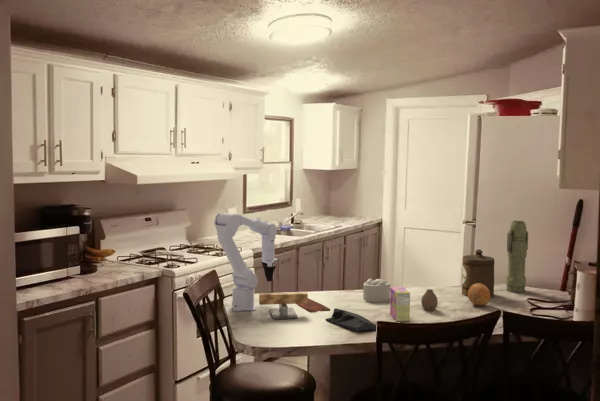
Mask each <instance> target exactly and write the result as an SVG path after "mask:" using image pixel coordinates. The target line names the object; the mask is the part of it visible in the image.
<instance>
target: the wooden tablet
mask: <svg viewBox="0 0 600 401" xmlns="http://www.w3.org/2000/svg"><path fill="white" fill-rule="evenodd" d="M297 305H298V306H300V307H301V308H302V309H304V310H306V311H307V312H310V313H317V312H328V311H331V309H330V308H329V307H328V306H326V305H324V304H323V303H319V302H317V301H316V300H313V299H312V298H309V297H308V303H301V304H297Z"/></svg>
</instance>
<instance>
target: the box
mask: <svg viewBox="0 0 600 401" xmlns="http://www.w3.org/2000/svg"><path fill="white" fill-rule="evenodd" d="M389 303H390V304H389V305H390V306H389V307H390V308H389V312H390V313H389V314H390V316H391V317H392V318H393V319H394V320H395V322H410V321H411V320H410V319H411V316H410V314H411V312H410V311H411V292H410V291H409V290H407V289H406V288H405V286H390V299H389Z"/></svg>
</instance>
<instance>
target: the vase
mask: <svg viewBox="0 0 600 401" xmlns="http://www.w3.org/2000/svg"><path fill="white" fill-rule="evenodd" d="M438 303H439V301H438V297H437V295H436V294H435V292H434V290H433V289H432V288H431V289H430V288H428V289H426V292H424V293H423V295H422V296H421V307H422V309H424V310H425V311H427V312H433V311H435V310H436V309H437V307H438Z"/></svg>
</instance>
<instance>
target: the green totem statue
mask: <svg viewBox="0 0 600 401" xmlns="http://www.w3.org/2000/svg"><path fill="white" fill-rule="evenodd" d="M510 223H511V224H510V226H509V230H508V231H507V235H506V236H507V238H506V239H507V241H506V251H507V256H508V260H507V262H508V264H507V275H506V282H505V285H506V291H508V292H510V293H517V294H518V293H519V294H520V293H525V292H526V279H527V278H526V275H525V274H526V258H527V253H528V252H527V251H528V249H529V248H528V247H529V232H528V230H527V225H526V222H525V221H522V220H513V221H511V222H510Z"/></svg>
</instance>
